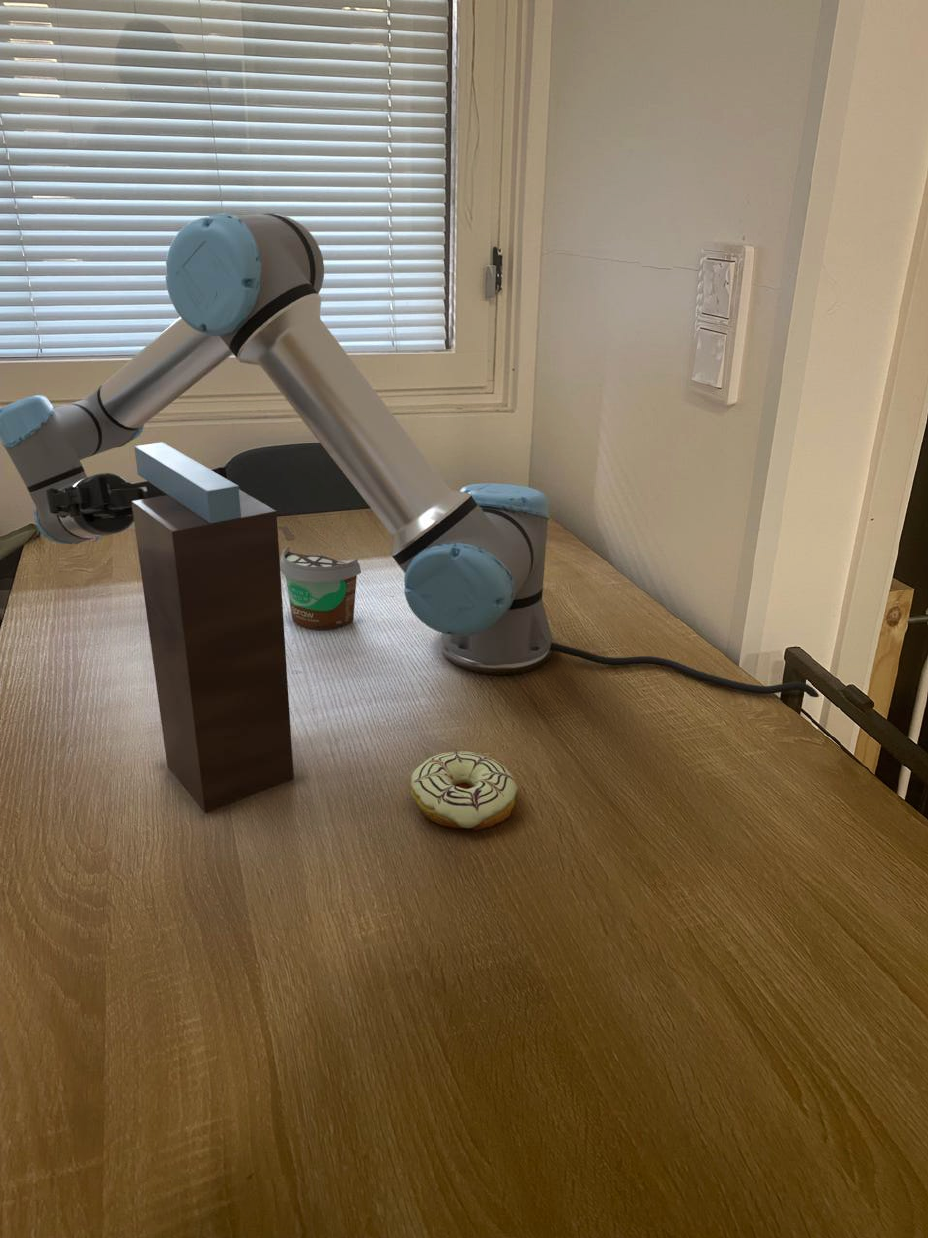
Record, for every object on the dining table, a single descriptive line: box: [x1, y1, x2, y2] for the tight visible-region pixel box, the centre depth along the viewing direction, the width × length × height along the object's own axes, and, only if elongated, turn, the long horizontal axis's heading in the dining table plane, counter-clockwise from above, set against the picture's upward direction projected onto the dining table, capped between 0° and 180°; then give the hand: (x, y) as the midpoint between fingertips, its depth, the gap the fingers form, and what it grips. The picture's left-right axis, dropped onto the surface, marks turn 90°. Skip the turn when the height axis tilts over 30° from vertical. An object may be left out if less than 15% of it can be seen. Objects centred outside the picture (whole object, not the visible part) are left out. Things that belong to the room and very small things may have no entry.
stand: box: [131, 489, 295, 813], centre depth 91 cm, size 10×10×30 cm
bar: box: [133, 441, 241, 524], centre depth 87 cm, size 18×3×3 cm, turn 38°
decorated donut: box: [410, 750, 519, 831], centre depth 93 cm, size 10×11×4 cm
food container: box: [280, 545, 362, 631], centre depth 129 cm, size 12×6×10 cm, turn 68°
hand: (167, 484), depth 99 cm, fingers open, 13 cm apart
